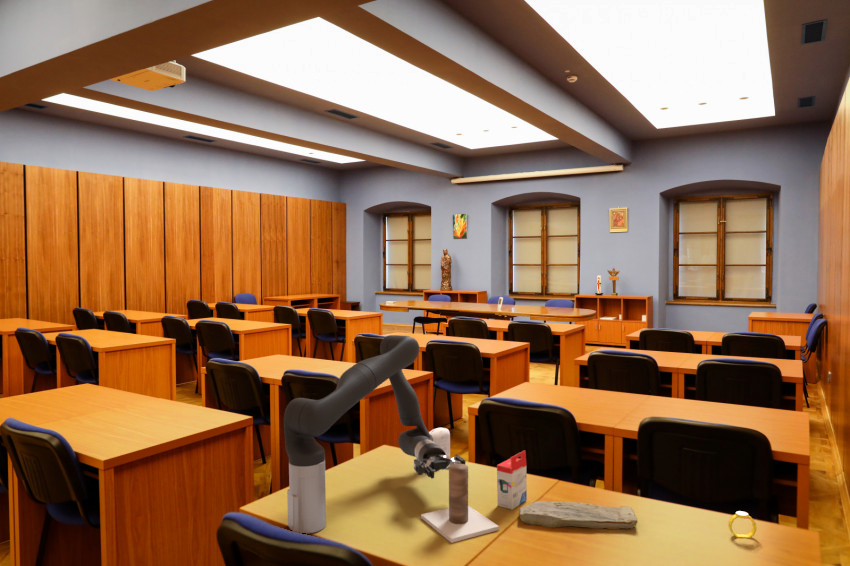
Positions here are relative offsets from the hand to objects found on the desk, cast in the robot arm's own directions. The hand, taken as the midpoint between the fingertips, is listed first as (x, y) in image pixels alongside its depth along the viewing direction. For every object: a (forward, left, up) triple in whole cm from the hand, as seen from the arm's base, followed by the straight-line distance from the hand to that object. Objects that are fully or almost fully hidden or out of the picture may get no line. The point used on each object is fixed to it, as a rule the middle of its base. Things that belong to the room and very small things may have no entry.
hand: (447, 473), depth 157 cm
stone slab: (+27, -21, -11) cm, 36 cm away
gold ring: (+56, -48, -11) cm, 74 cm away
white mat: (-1, -8, -11) cm, 13 cm away
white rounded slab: (+16, +34, -11) cm, 39 cm away
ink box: (+19, -4, -11) cm, 22 cm away
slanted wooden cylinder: (-1, -8, -10) cm, 12 cm away
